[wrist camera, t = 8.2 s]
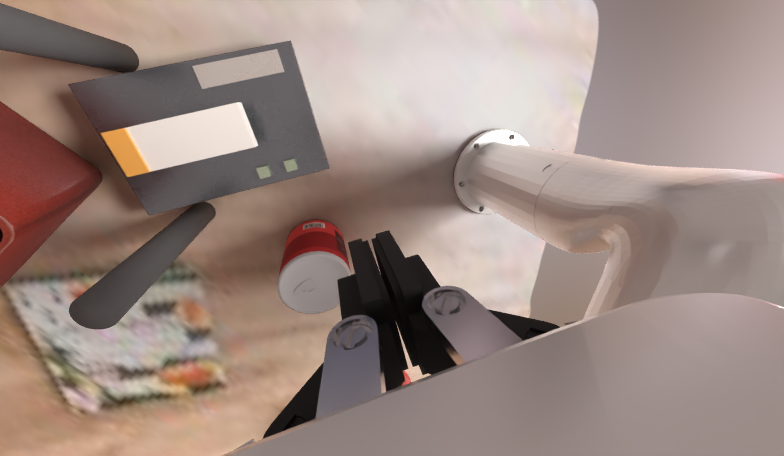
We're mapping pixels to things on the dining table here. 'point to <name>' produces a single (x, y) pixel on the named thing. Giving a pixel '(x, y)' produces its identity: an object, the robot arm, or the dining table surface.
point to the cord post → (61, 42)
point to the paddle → (181, 139)
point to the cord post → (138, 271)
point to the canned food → (313, 267)
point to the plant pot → (35, 188)
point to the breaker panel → (209, 90)
